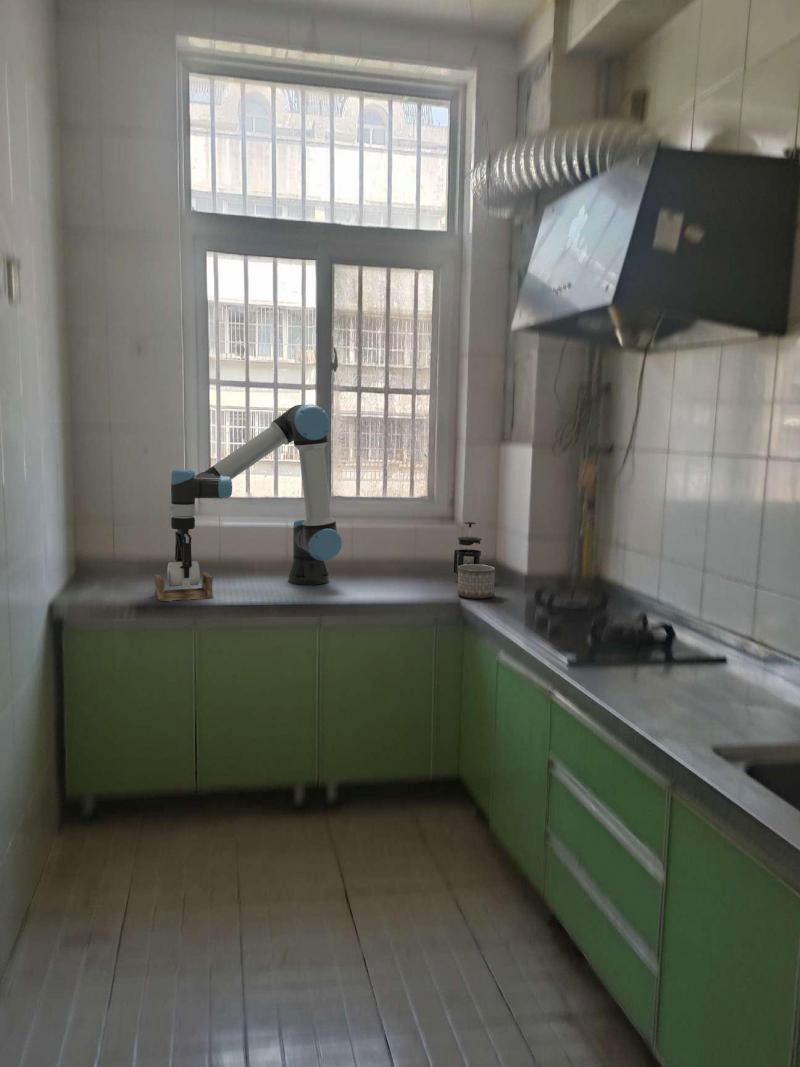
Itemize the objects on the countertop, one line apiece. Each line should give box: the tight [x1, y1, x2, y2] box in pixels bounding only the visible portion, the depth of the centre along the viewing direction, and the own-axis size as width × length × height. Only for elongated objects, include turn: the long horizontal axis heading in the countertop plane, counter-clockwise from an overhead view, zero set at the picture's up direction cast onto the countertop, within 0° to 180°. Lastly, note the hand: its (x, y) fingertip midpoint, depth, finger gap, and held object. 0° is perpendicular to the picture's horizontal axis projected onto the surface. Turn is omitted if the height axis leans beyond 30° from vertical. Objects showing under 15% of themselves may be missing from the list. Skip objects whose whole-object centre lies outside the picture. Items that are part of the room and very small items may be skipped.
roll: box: [166, 560, 201, 588], centre depth 272 cm, size 9×8×8 cm
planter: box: [456, 563, 496, 599], centre depth 286 cm, size 13×13×10 cm
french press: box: [453, 521, 482, 584], centre depth 310 cm, size 12×9×23 cm
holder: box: [154, 571, 214, 602], centre depth 273 cm, size 17×11×7 cm, turn 116°
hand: (183, 584), depth 273 cm, fingers closed on roll, 8 cm apart
